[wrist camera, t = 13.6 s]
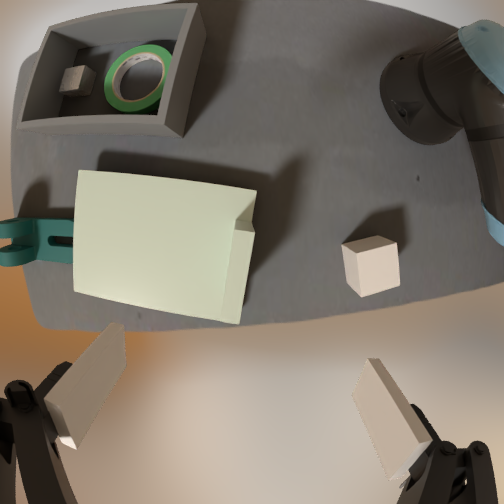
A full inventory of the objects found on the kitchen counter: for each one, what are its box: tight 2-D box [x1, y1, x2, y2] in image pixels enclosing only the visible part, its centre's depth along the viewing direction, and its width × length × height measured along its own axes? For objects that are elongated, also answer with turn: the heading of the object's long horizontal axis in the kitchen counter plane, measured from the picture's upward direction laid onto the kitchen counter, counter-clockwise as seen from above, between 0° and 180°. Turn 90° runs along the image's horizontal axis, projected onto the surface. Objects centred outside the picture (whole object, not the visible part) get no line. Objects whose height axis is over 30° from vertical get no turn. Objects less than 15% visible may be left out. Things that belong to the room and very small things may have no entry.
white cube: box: [341, 235, 400, 297], centre depth 37 cm, size 6×6×6 cm
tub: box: [16, 3, 207, 138], centre depth 28 cm, size 24×17×9 cm
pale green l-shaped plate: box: [73, 170, 257, 324], centre depth 33 cm, size 25×18×11 cm
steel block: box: [59, 65, 96, 97], centre depth 31 cm, size 4×4×4 cm
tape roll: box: [104, 44, 172, 115], centre depth 32 cm, size 11×11×3 cm
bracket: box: [0, 218, 74, 267], centre depth 34 cm, size 18×7×8 cm, turn 86°
